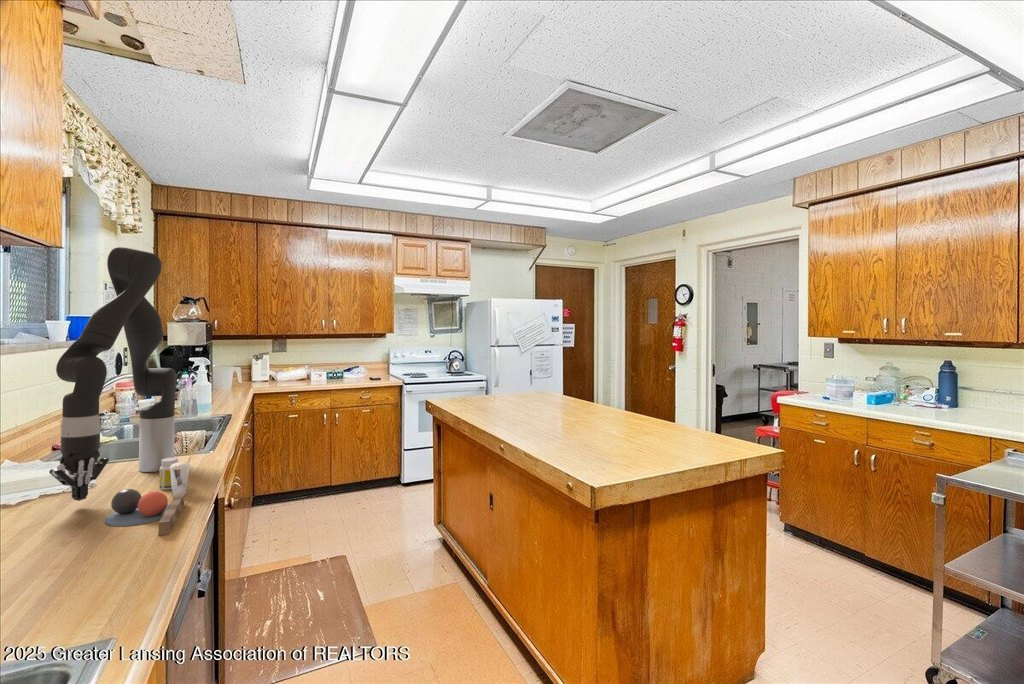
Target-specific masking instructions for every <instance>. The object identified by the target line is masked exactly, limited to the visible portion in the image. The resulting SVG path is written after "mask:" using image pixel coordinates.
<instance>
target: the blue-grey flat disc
mask: <svg viewBox="0 0 1024 684" xmlns="http://www.w3.org/2000/svg"><path fill="white" fill-rule="evenodd" d="M168 506H169V504H167V507H166V508H165V510H164V511H163V512H162V513H160V514H158V515H156V516H144V515H142V514H141V513H140V512H139V510H138V508H137V509H136V510H135V511H133V512H131V513H128V514H119V513H117V512H115V511H114V512H113V513H111V514H110V515H109V514H108V516H106V517H105V518H104V524H105V525H106V526H107V525H108V526H111V527H133V526H140V525H145V524H150V523H153V522H157V521H160V519H161V518H162V516H163V514H164V513H165V511H166V509H167V508H168Z"/></svg>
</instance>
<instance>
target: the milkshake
mask: <svg viewBox="0 0 1024 684" xmlns="http://www.w3.org/2000/svg"><path fill="white" fill-rule="evenodd" d="M191 458H192V456H189V458H188V461H187V462H184V461H180V462H179V461H178V462H177V463H174V464H172V465H171V466H170V473H171V485H172V489H171V494H172V497H174V496H175V494H184V493H185V495H186V494H187V493H188V483H189V481H188V480H189V473H190V467H191V466H190V465H191V464H190V461H191Z"/></svg>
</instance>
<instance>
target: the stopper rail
mask: <svg viewBox="0 0 1024 684" xmlns="http://www.w3.org/2000/svg"><path fill="white" fill-rule="evenodd" d="M185 495H186V494H185V493H184V494H175V496H173V498H172V500H171V501H170V503H169V504H168V505H169V506H168V508H167V509H166V511H165V513H164V514H163V516H162V518H161V519H160V520H158V521H159V522H158V531H157V532H158V533H157V534H158V536H166V535H170V533H171V532H172V530H173V528H174V525H175V523H176V522H177V520H178V518H179V516H180V514H181V512H182V510H183V508H184V506H185Z"/></svg>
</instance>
